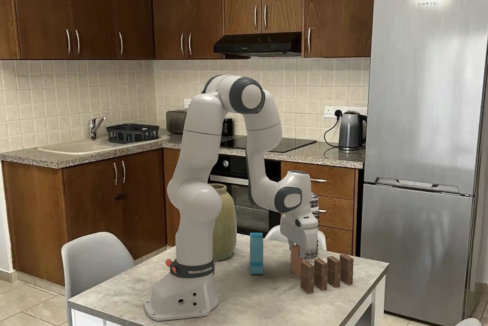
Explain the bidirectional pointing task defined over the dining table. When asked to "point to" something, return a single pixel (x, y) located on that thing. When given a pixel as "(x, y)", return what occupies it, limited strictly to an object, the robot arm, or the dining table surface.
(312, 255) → the decorative candle
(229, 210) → the vase
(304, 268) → the domino
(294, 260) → the domino
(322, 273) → the domino
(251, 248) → the data package
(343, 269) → the domino
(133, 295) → the dining table surface
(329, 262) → the domino
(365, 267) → the dining table surface
